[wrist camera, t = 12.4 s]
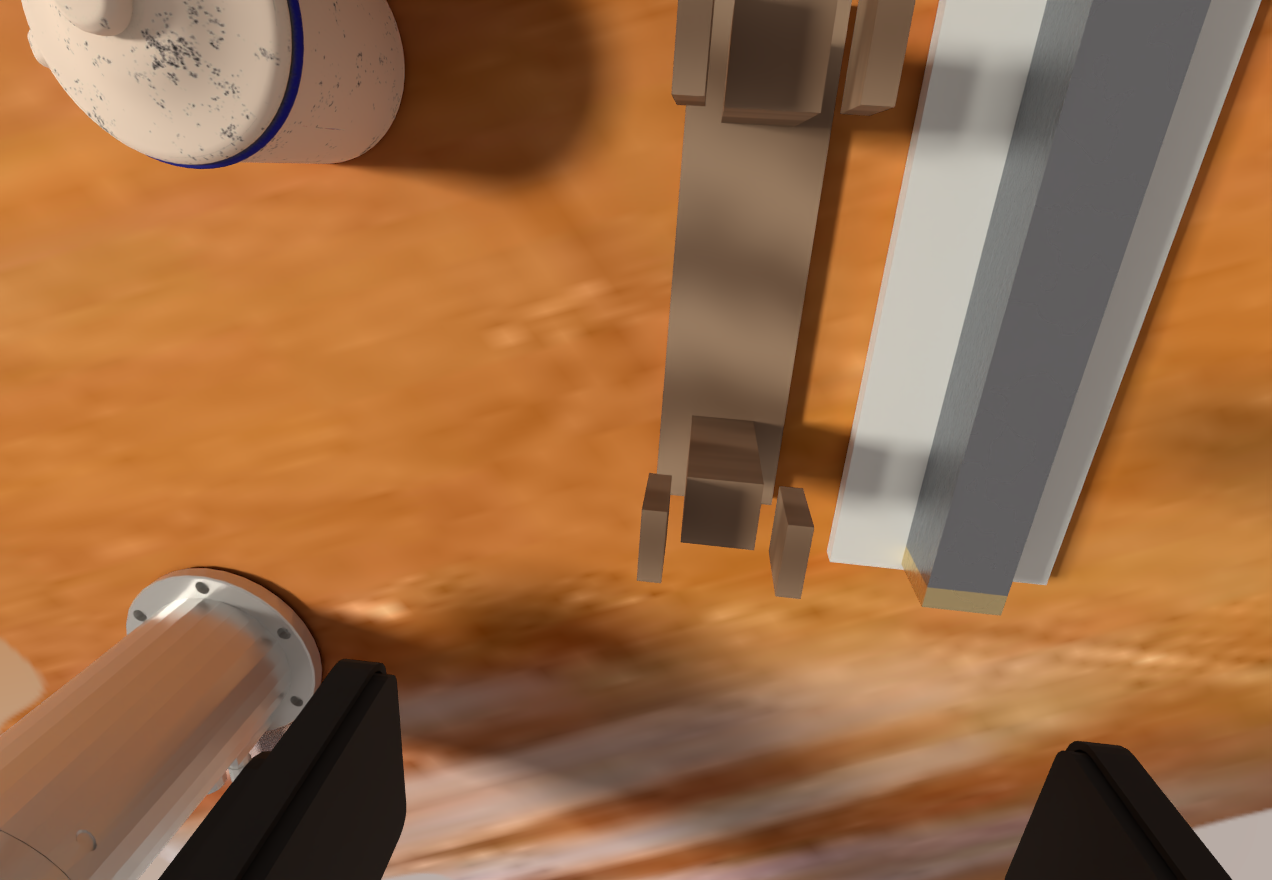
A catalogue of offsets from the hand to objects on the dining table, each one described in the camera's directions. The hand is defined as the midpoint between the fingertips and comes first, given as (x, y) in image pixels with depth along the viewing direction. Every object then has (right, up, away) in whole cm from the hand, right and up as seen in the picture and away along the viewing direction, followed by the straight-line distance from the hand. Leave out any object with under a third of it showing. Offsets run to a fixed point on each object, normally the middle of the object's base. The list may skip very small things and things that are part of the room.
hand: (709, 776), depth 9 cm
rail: (+15, +11, +19) cm, 27 cm away
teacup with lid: (-17, +22, +20) cm, 34 cm away
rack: (+4, +12, +21) cm, 24 cm away
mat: (+16, +11, +20) cm, 28 cm away
